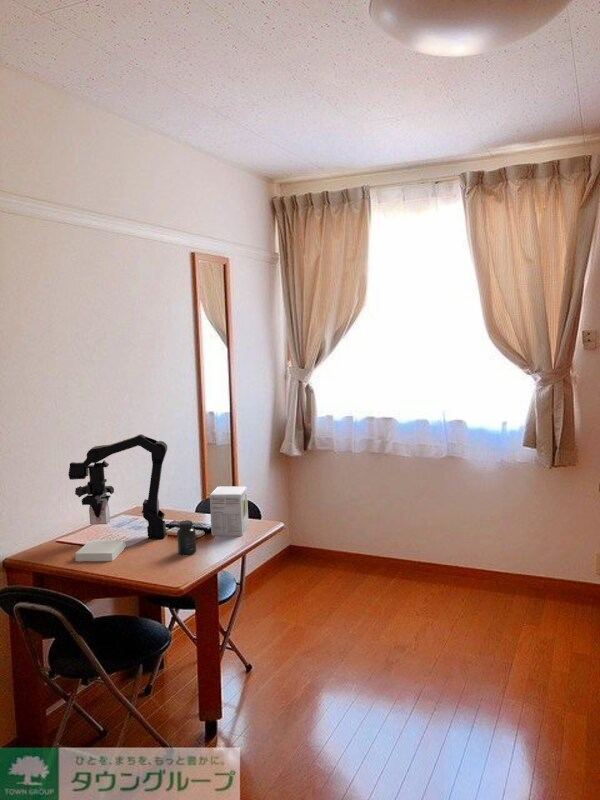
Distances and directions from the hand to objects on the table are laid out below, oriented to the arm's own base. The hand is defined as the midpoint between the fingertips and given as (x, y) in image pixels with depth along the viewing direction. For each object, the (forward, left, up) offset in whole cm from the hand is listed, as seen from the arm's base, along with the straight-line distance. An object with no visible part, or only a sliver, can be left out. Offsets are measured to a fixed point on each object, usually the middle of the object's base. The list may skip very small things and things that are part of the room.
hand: (99, 515), depth 243 cm
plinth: (-6, +15, -10) cm, 19 cm away
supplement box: (-51, -11, -11) cm, 53 cm away
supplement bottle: (-39, +14, -11) cm, 43 cm away
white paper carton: (0, 0, -3) cm, 3 cm away
